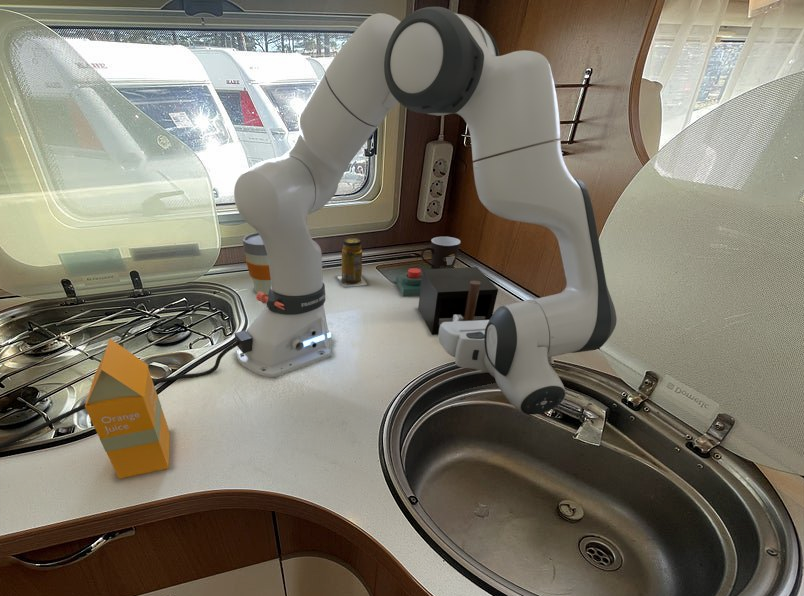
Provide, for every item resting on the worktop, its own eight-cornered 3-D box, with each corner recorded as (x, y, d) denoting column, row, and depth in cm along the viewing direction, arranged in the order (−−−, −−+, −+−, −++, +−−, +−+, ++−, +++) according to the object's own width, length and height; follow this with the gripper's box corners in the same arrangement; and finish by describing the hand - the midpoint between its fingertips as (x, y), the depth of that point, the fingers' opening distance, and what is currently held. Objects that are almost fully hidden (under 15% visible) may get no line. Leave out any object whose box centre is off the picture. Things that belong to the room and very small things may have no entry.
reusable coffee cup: (286, 299, 118) (281, 246, 110) (243, 297, 120) (235, 244, 111) (296, 282, 128) (292, 231, 120) (256, 280, 130) (250, 230, 121)
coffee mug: (453, 268, 136) (458, 236, 130) (457, 278, 129) (462, 245, 123) (417, 267, 137) (420, 236, 131) (418, 277, 130) (422, 245, 124)
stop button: (421, 279, 120) (422, 272, 119) (409, 279, 120) (409, 273, 118) (418, 274, 123) (419, 267, 121) (406, 274, 122) (407, 268, 121)
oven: (488, 332, 102) (498, 289, 95) (431, 335, 101) (437, 292, 95) (469, 306, 113) (476, 266, 107) (417, 309, 112) (422, 269, 106)
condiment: (359, 274, 133) (360, 236, 125) (367, 285, 126) (368, 244, 119) (337, 276, 131) (336, 238, 124) (343, 287, 125) (343, 247, 118)
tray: (491, 333, 97) (502, 283, 90) (443, 335, 97) (451, 285, 89) (467, 303, 110) (476, 257, 103) (425, 305, 110) (431, 259, 102)
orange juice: (117, 479, 66) (68, 374, 54) (124, 441, 73) (81, 341, 61) (170, 468, 68) (132, 364, 56) (171, 432, 75) (138, 333, 63)
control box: (430, 295, 119) (432, 281, 117) (402, 296, 119) (404, 283, 117) (422, 281, 127) (423, 268, 125) (395, 282, 127) (396, 269, 125)
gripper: (562, 332, 78) (528, 300, 89) (453, 338, 77) (433, 305, 88) (552, 361, 82) (521, 327, 93) (448, 367, 80) (429, 331, 91)
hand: (477, 316), depth 90 cm, fingers open, 8 cm apart
